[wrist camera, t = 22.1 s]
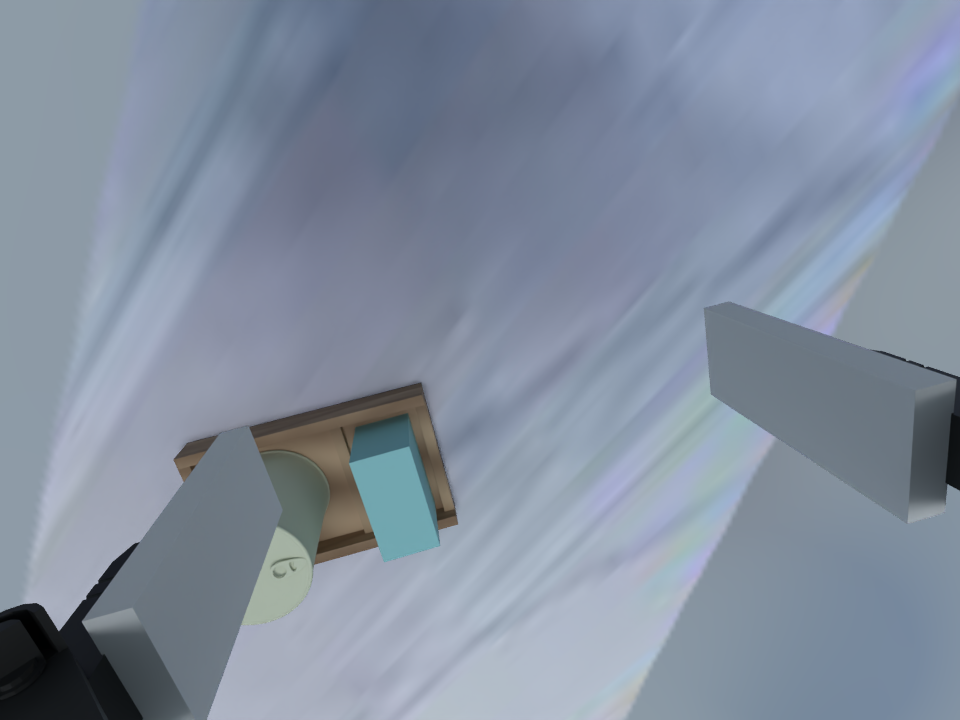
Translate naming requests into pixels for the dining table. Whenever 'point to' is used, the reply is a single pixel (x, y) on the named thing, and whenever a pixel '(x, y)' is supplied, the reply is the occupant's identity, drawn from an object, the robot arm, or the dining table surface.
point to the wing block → (394, 487)
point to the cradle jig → (346, 461)
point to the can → (290, 536)
